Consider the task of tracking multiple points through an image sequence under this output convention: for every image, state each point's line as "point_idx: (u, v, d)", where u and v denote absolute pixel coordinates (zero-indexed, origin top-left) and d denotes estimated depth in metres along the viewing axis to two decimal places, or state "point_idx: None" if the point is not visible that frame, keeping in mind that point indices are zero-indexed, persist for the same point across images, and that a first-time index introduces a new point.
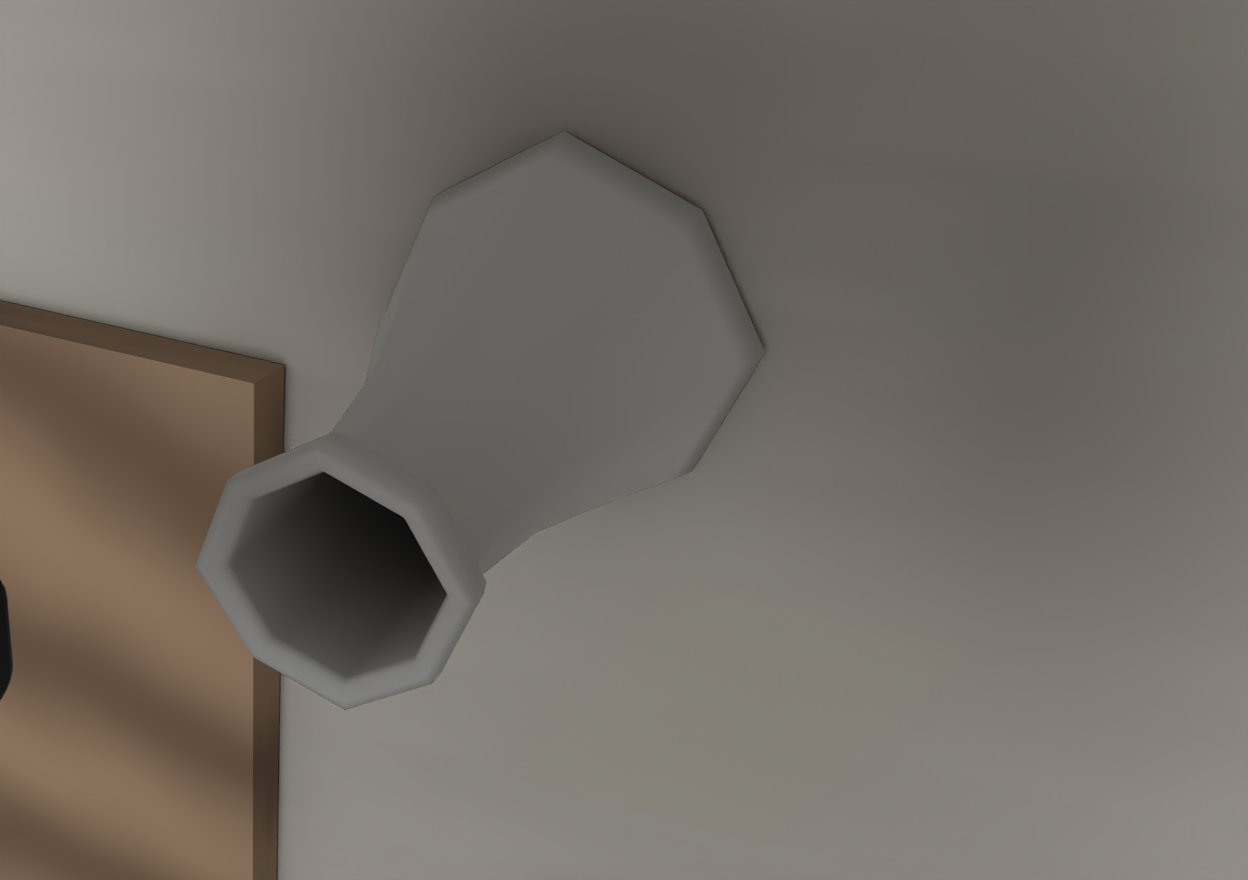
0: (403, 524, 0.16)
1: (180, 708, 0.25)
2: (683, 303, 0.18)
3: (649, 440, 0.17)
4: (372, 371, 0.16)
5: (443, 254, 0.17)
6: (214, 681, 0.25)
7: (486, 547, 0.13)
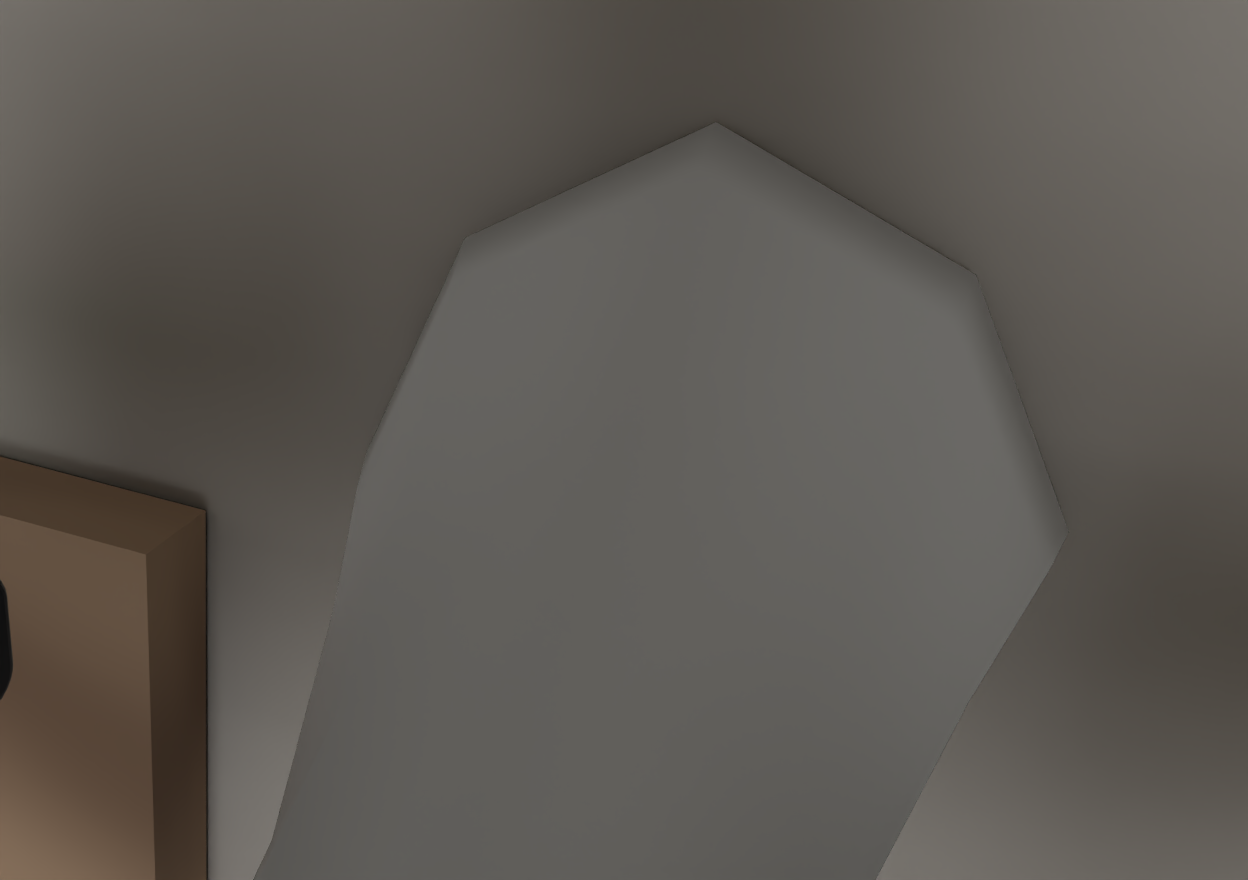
0: None
1: None
2: (969, 467, 0.09)
3: None
4: (341, 654, 0.07)
5: (495, 371, 0.08)
6: None
7: None
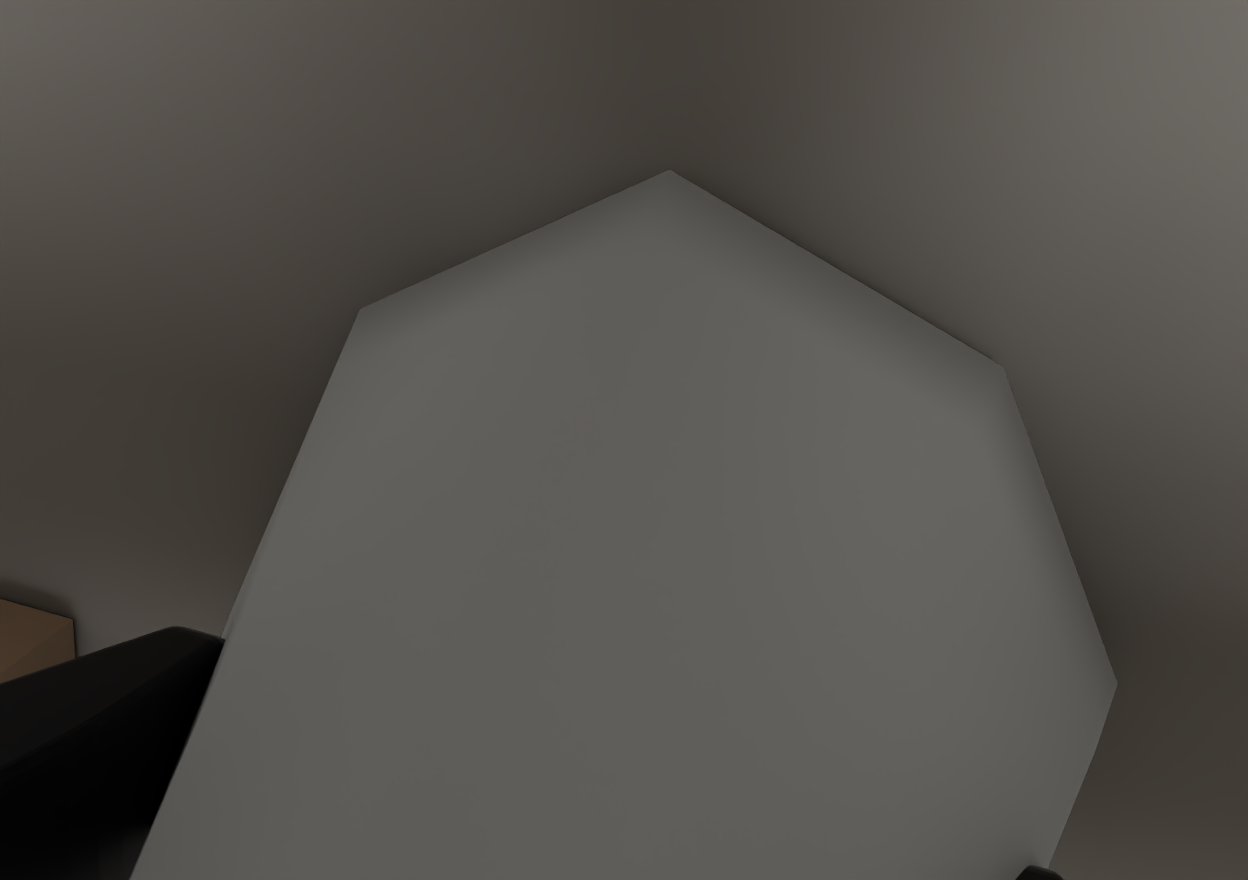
0: None
1: None
2: (998, 637, 0.07)
3: None
4: None
5: (353, 521, 0.06)
6: None
7: None
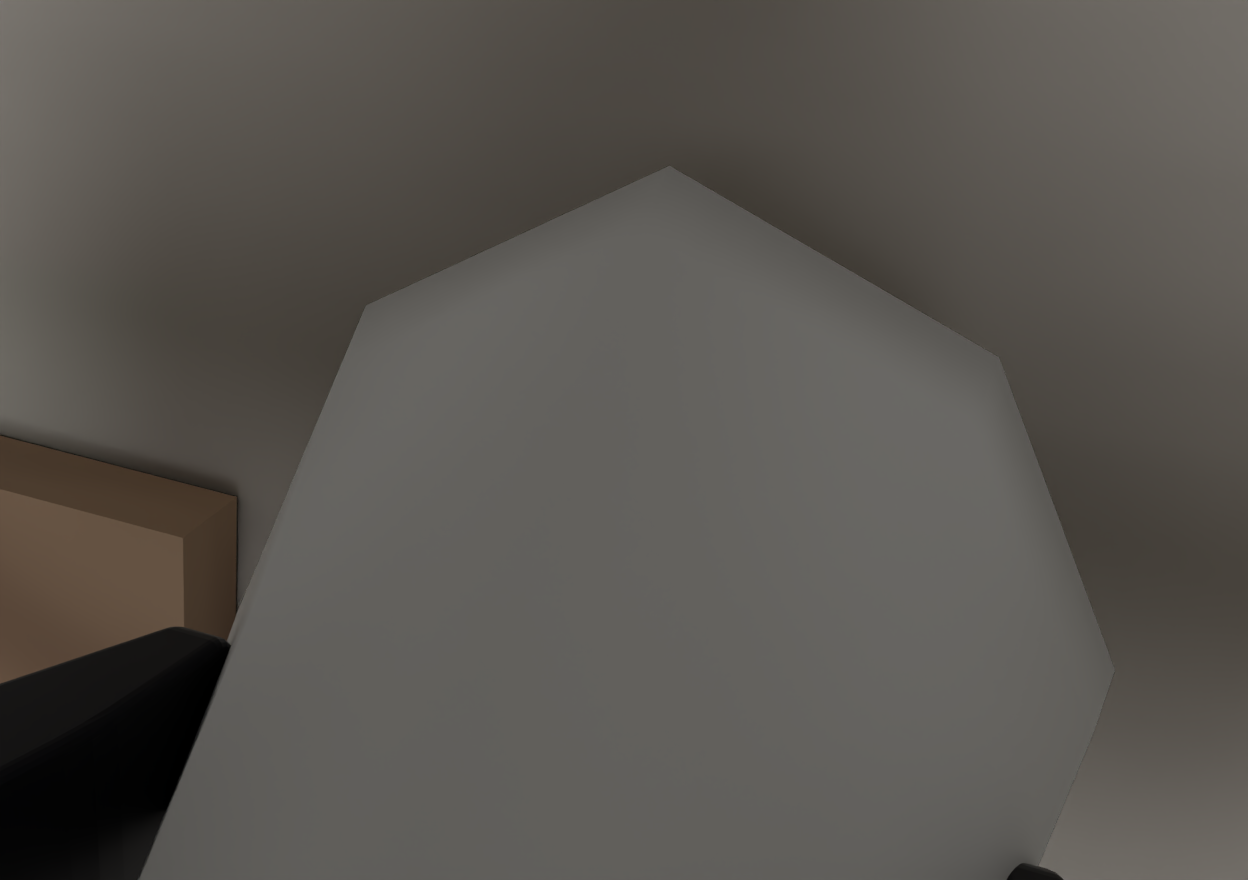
0: None
1: None
2: (995, 621, 0.07)
3: None
4: None
5: (362, 510, 0.06)
6: None
7: None
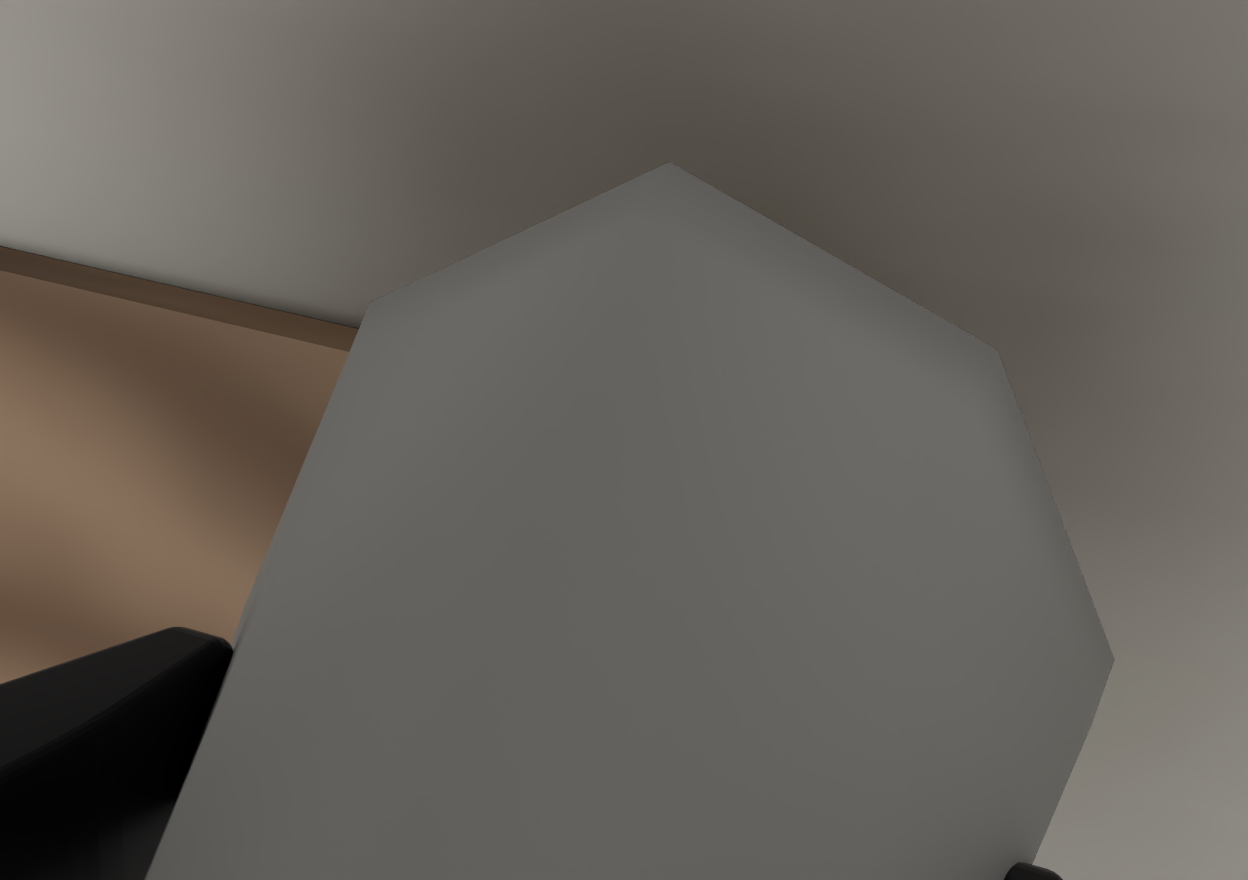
0: None
1: None
2: (993, 609, 0.07)
3: None
4: None
5: (368, 502, 0.06)
6: None
7: None
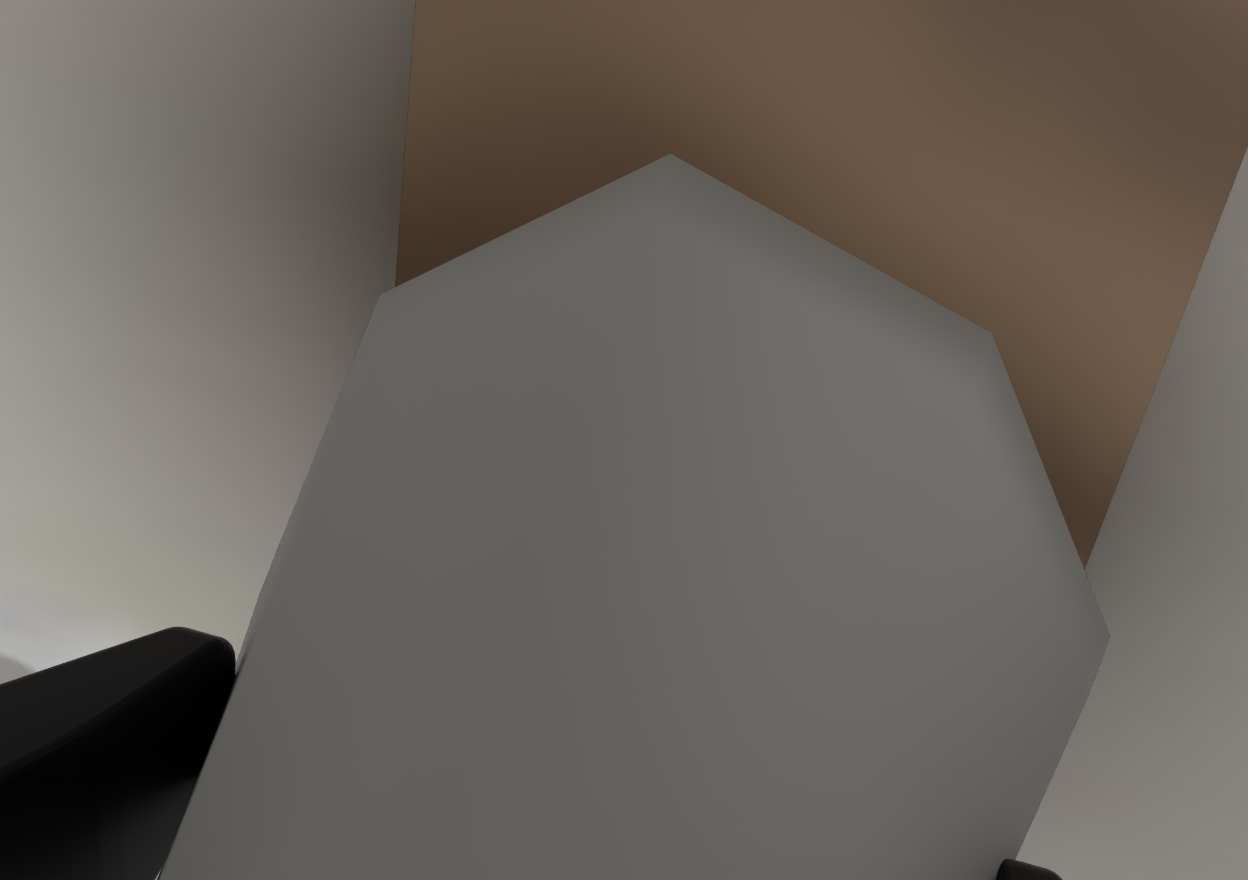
0: None
1: None
2: (989, 583, 0.07)
3: None
4: None
5: (382, 482, 0.07)
6: (1081, 389, 0.16)
7: None
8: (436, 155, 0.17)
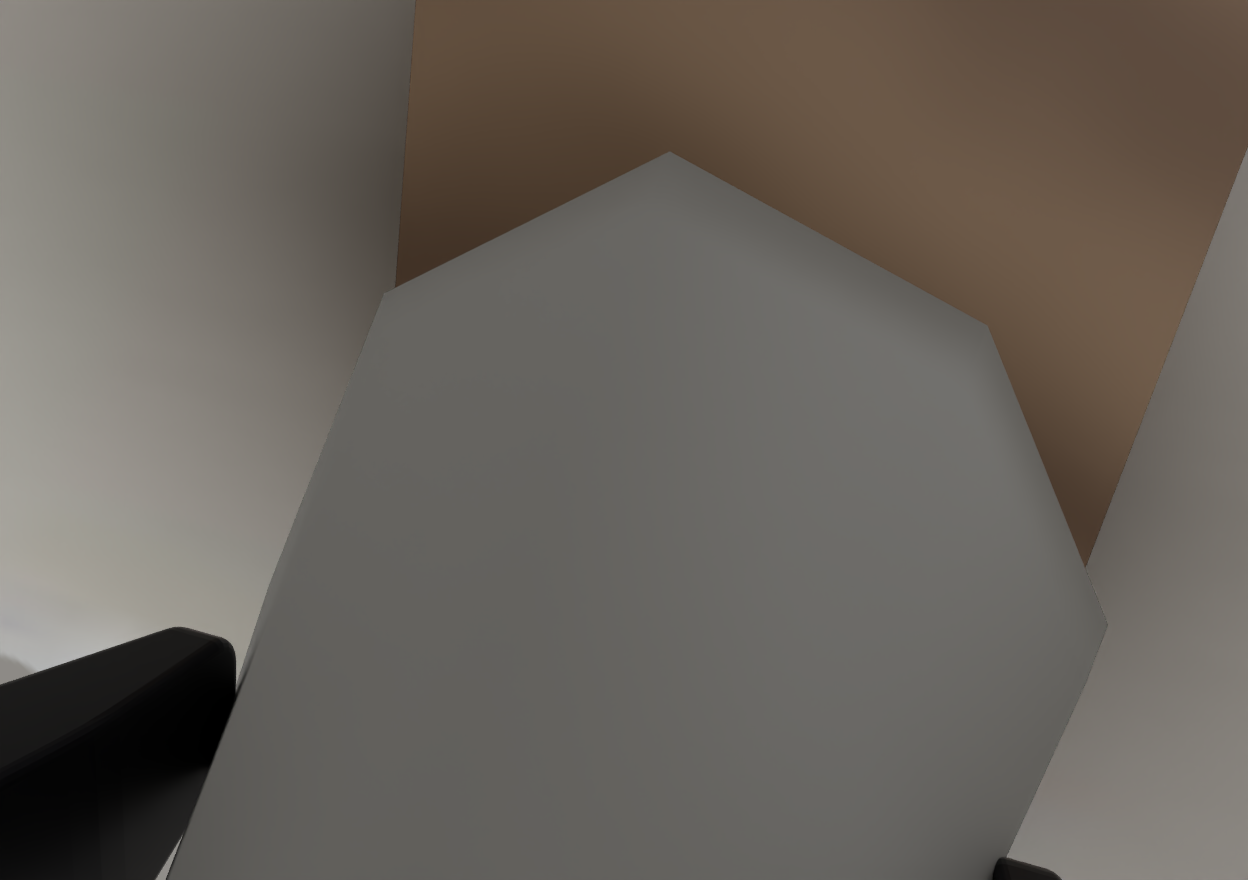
0: None
1: None
2: (986, 571, 0.07)
3: None
4: (170, 870, 0.05)
5: (389, 475, 0.07)
6: (1081, 389, 0.16)
7: None
8: (436, 155, 0.17)
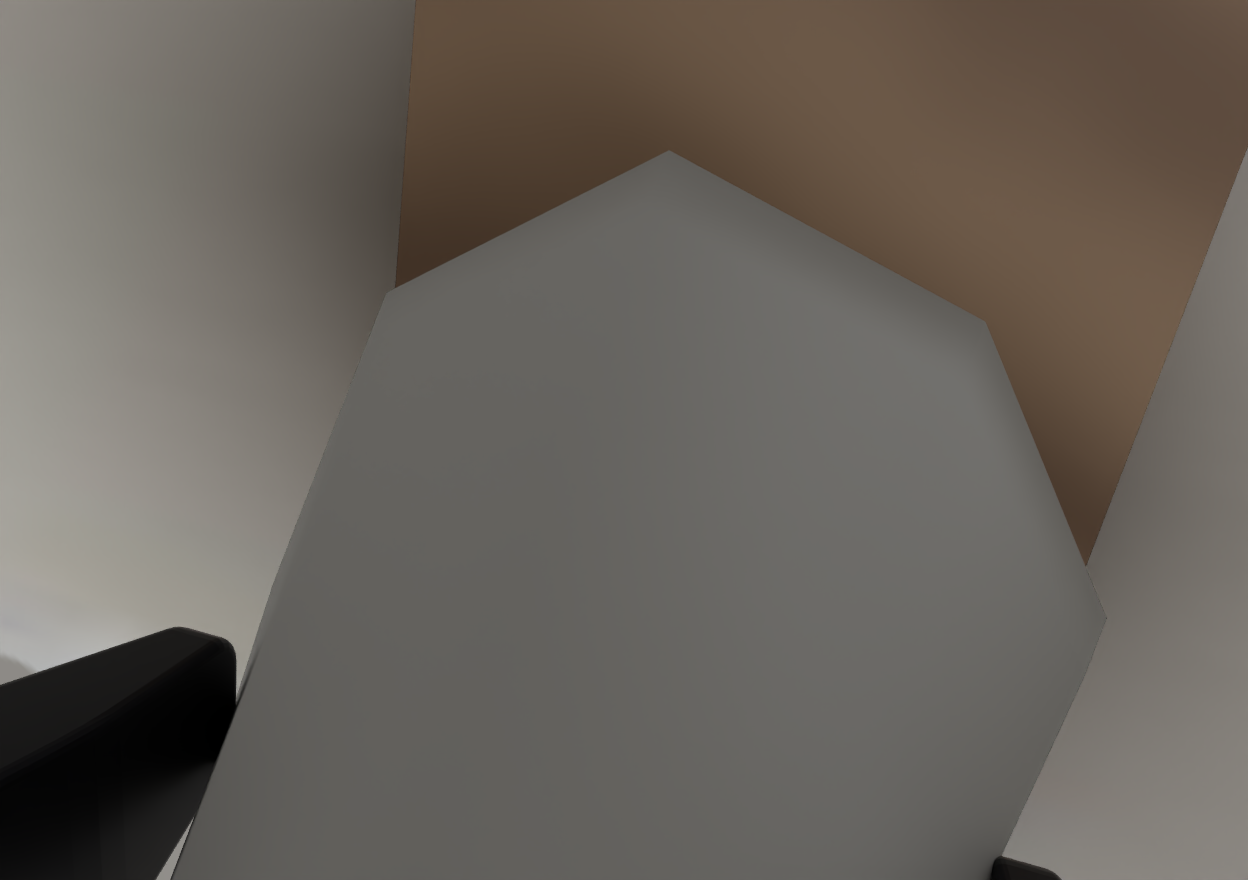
0: None
1: None
2: (985, 564, 0.07)
3: None
4: (179, 861, 0.06)
5: (392, 471, 0.07)
6: (1081, 389, 0.16)
7: None
8: (436, 155, 0.17)
